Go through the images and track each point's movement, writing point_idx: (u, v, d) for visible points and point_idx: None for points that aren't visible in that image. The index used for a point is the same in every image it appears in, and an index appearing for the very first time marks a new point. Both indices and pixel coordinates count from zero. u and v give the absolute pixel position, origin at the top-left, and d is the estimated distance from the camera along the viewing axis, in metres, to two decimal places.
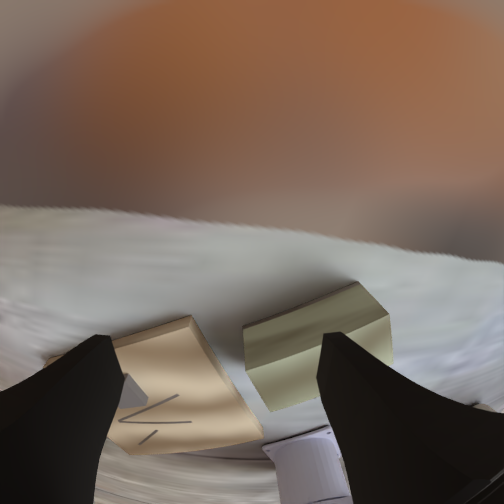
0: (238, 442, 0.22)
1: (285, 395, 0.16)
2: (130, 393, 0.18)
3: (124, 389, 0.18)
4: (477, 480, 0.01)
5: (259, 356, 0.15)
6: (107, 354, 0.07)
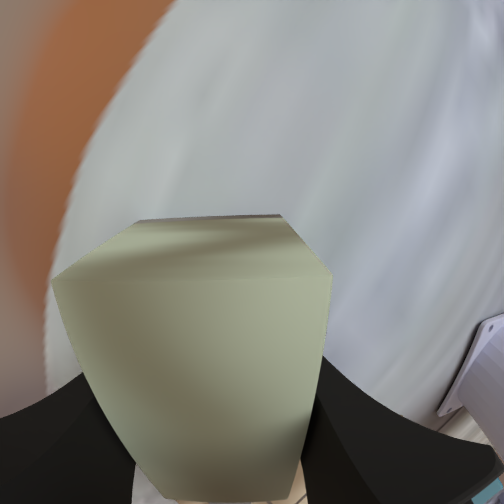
0: None
1: (251, 490, 0.06)
2: None
3: None
4: None
5: None
6: None
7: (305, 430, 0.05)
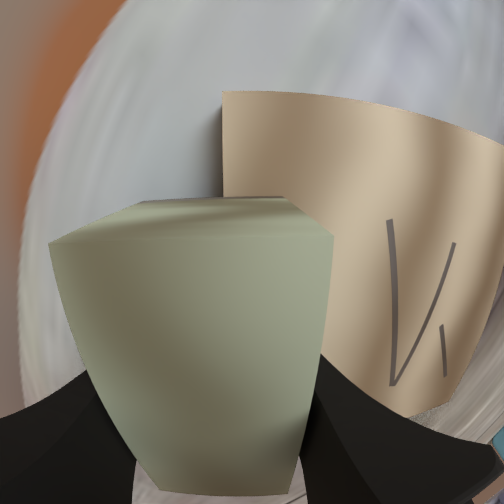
0: None
1: (249, 482, 0.06)
2: None
3: None
4: None
5: None
6: None
7: (306, 414, 0.05)
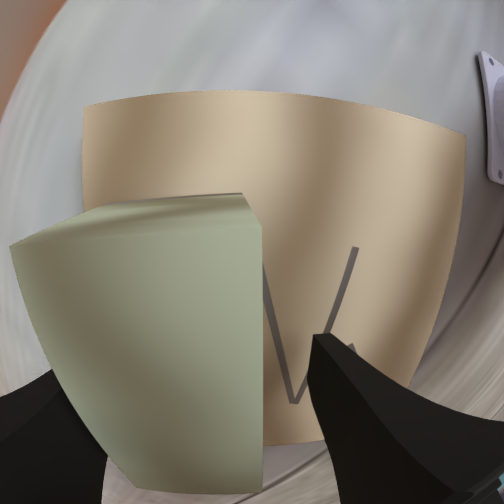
0: (459, 193, 0.09)
1: (219, 480, 0.06)
2: None
3: None
4: (460, 492, 0.01)
5: None
6: None
7: (261, 411, 0.05)
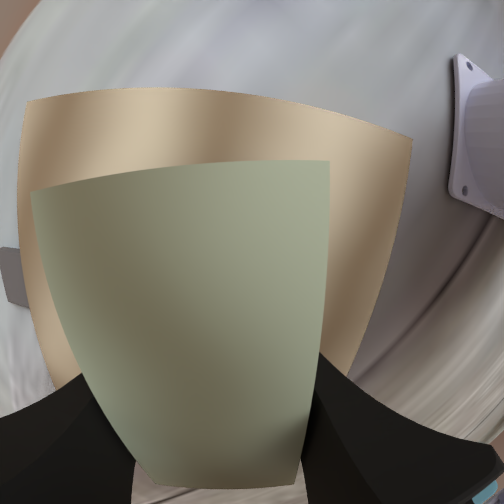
0: (396, 204, 0.09)
1: (251, 472, 0.06)
2: (12, 261, 0.09)
3: (6, 264, 0.09)
4: None
5: None
6: None
7: (312, 383, 0.04)
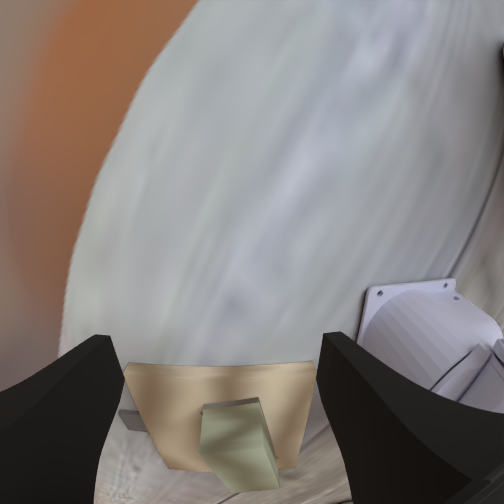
0: (309, 395, 0.20)
1: (263, 485, 0.17)
2: (131, 417, 0.21)
3: (126, 417, 0.21)
4: (477, 480, 0.01)
5: None
6: (107, 354, 0.07)
7: (271, 467, 0.16)
